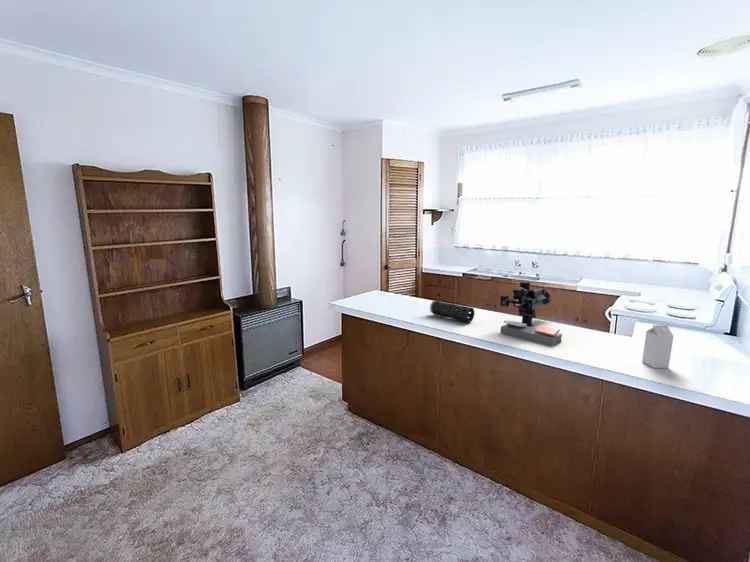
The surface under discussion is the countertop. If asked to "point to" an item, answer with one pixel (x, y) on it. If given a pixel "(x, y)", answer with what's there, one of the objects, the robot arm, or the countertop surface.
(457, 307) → the muzzle brake
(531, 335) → the switch box
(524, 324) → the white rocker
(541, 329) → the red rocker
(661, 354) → the milk carton
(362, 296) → the countertop surface
